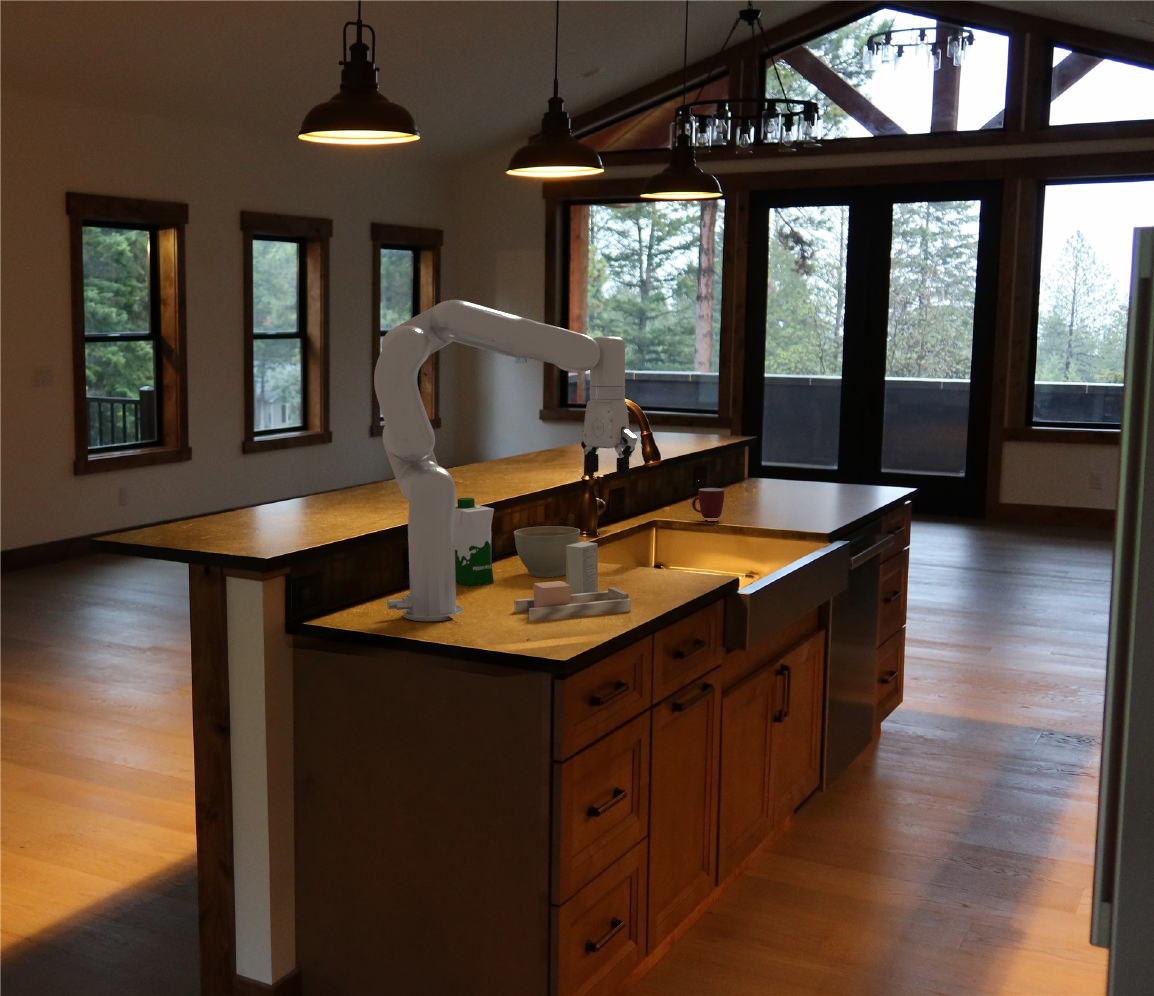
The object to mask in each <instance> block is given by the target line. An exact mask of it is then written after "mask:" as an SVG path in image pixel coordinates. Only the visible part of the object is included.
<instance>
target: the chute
mask: <svg viewBox="0 0 1154 996" xmlns="http://www.w3.org/2000/svg"><path fill="white" fill-rule="evenodd" d="M513 606H514V607H513V611H514V613H517V614H518V613H526V612H527V613H528V616H529V617H528V620H529V622H540V621H541V622H542V621H549V620H550V621H551V620H558V619H567V618H568V619H569V618H579V617H580V618H581V617H586V616H587V617H588V616H599V615H607V614H616V613H617V614H618V613H625V612H632V599H631V598H629V593H628V592H625V591H623V590H621V589H619V588H616V587H614V586H611V587H607V590H605V591H604V590H602V591H598V592H592V593H581V594H571V603H569V604H559V605H548V606H539V607H538V608H534V597H533V598H523V599H522V598H521V599H520V598H519V599H514V600H513Z"/></svg>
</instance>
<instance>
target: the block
mask: <svg viewBox="0 0 1154 996" xmlns="http://www.w3.org/2000/svg"><path fill="white" fill-rule="evenodd" d="M533 598H534V608H538V607H539V606H548V605H559V604H569V603H571V586H570V585H568V584H567V582H564V581H561V580H557V581H556V580H555V581H547V582H546V581H545V582H535V583H533Z"/></svg>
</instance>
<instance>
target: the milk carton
mask: <svg viewBox="0 0 1154 996" xmlns="http://www.w3.org/2000/svg"><path fill="white" fill-rule="evenodd" d="M456 503H457V506H455V517H454V537H455V575H456V585H459V586H462V587H467V588H475V587H480V586H488V585H492V584H494V583H495V581H494V572H493V571H494V570H493V562H492V558H493V557H492V523H493V517H494V512H495V508H491V507H488V506H482V505H475V504H476V502H475V498H474V497H461V498H460V497H459V498H456Z"/></svg>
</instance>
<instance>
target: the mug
mask: <svg viewBox="0 0 1154 996" xmlns="http://www.w3.org/2000/svg"><path fill="white" fill-rule="evenodd" d="M697 501H698V502H699V509H698V508H697V505H696V503H697ZM724 501H725V489H724V488H718V487H705V488H698V496H696V497H694V498H693V499H692V502H691V507H692V509H693V511H695V512H697V513H700V514H701V516H702V517H704V518H718V517H719V518H720V517H721V515H722V513H723V508H724V503H725V502H724ZM704 518H703V519H704Z"/></svg>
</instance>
